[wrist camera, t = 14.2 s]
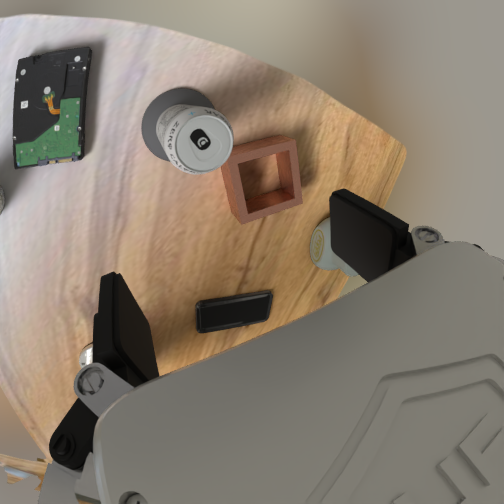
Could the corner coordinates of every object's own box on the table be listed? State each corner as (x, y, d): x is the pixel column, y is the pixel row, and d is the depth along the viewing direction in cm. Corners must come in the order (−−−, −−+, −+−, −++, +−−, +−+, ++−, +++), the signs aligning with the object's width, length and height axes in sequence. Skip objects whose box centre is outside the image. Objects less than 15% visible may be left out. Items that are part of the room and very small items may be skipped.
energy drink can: (174, 157, 35) (197, 194, 23) (146, 125, 31) (150, 141, 19) (210, 129, 34) (253, 149, 23) (183, 95, 31) (213, 92, 19)
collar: (288, 193, 45) (302, 203, 41) (231, 212, 43) (241, 224, 39) (280, 134, 39) (295, 139, 35) (217, 151, 37) (226, 157, 33)
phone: (196, 304, 48) (273, 291, 54) (194, 300, 49) (271, 288, 55) (197, 334, 52) (267, 321, 58) (195, 330, 53) (265, 317, 58)
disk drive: (24, 61, 19) (21, 166, 26) (16, 59, 17) (13, 171, 24) (93, 49, 23) (86, 157, 30) (90, 45, 21) (82, 161, 28)
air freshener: (336, 256, 57) (367, 284, 49) (303, 262, 54) (332, 293, 46) (348, 208, 51) (384, 231, 43) (313, 210, 48) (348, 236, 41)
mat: (223, 148, 37) (224, 149, 37) (153, 171, 35) (153, 172, 34) (208, 80, 31) (209, 80, 31) (133, 102, 29) (133, 102, 29)
